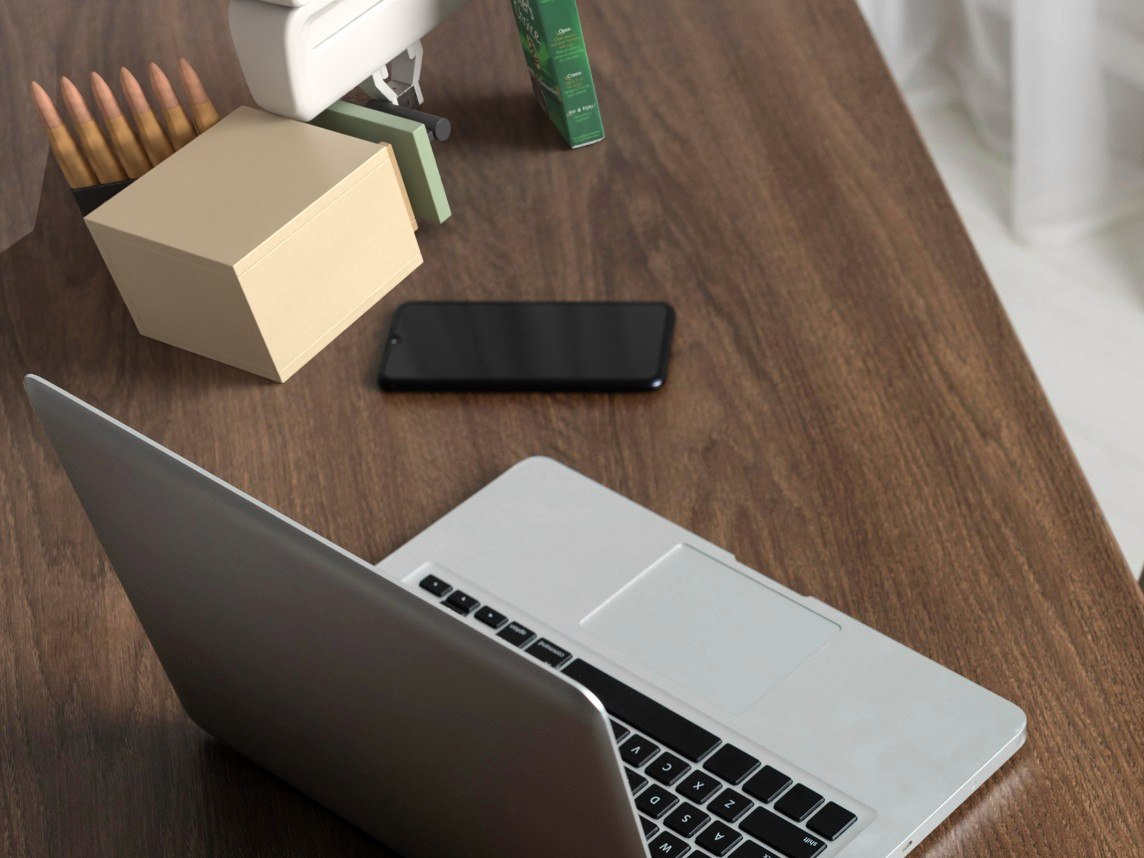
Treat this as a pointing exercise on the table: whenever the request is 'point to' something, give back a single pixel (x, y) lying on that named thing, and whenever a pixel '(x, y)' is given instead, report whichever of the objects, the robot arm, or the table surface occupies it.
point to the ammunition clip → (121, 131)
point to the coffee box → (559, 67)
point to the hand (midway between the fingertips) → (401, 111)
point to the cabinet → (258, 241)
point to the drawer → (398, 149)
